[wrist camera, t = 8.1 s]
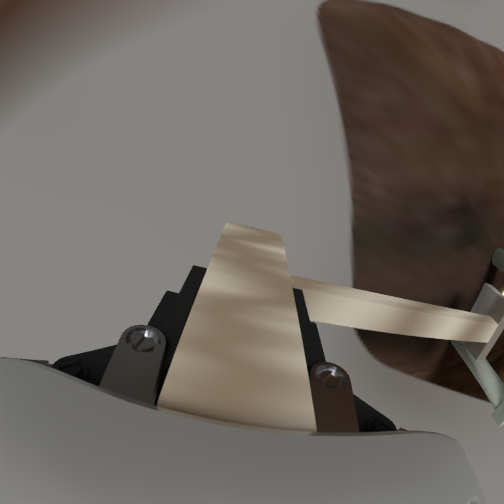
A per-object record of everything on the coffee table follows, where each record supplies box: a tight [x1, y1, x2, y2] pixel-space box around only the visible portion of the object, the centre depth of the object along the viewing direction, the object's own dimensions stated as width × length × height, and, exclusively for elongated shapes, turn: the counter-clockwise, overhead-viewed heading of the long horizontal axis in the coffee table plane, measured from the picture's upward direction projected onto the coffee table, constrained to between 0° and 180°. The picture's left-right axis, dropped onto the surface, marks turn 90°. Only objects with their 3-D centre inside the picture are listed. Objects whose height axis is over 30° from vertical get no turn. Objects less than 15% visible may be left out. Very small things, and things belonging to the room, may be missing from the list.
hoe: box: [156, 222, 504, 432], centre depth 10 cm, size 21×5×14 cm, turn 77°
